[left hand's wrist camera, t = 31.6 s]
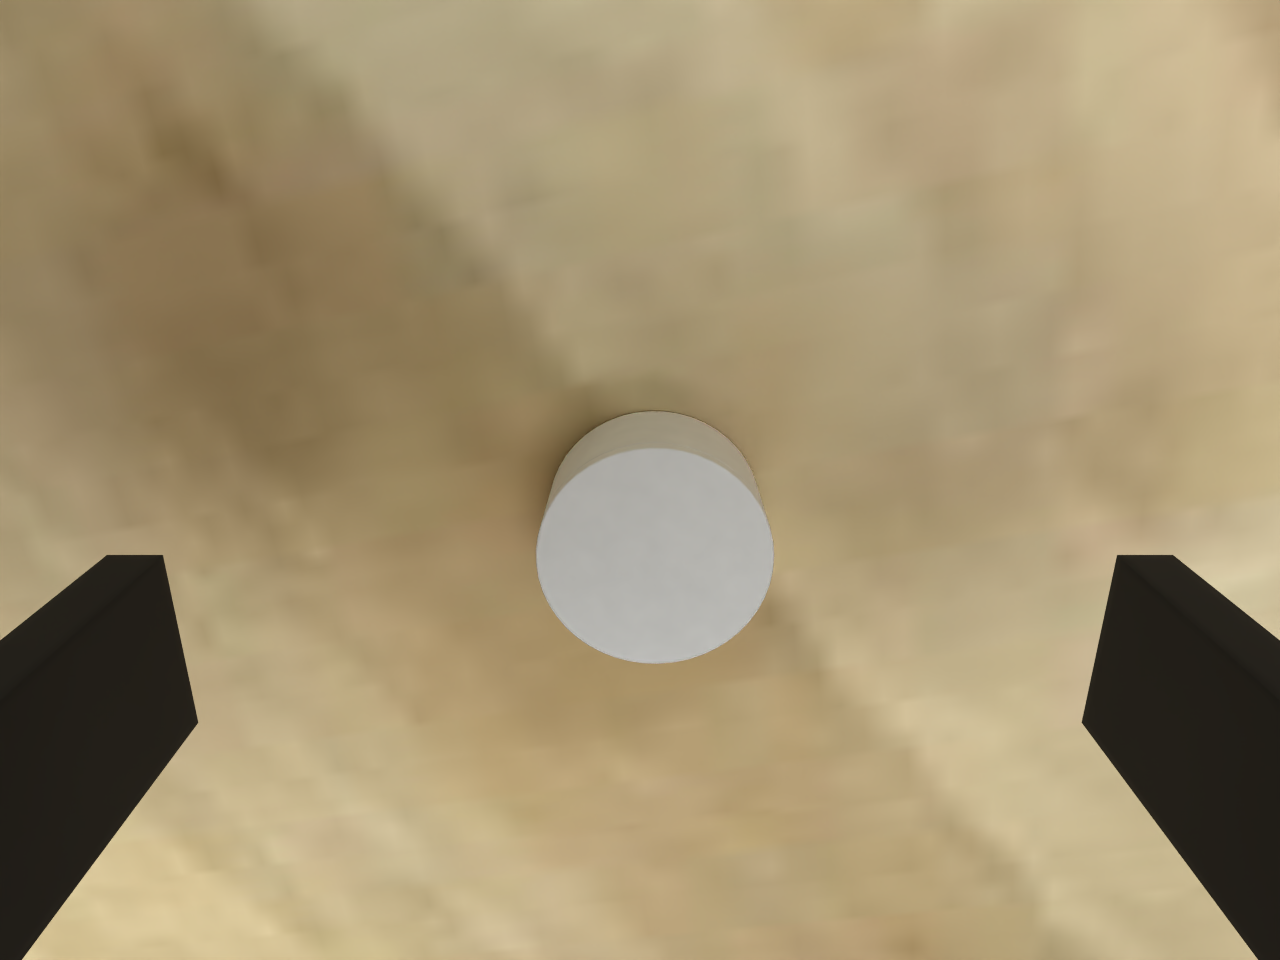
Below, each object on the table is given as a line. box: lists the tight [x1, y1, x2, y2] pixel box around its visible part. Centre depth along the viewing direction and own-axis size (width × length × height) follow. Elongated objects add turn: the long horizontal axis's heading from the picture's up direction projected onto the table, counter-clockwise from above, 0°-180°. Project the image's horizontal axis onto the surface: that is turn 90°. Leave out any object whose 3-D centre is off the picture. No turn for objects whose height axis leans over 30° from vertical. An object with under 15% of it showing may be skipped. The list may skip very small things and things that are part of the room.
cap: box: [536, 411, 774, 664], centre depth 17 cm, size 4×4×2 cm
